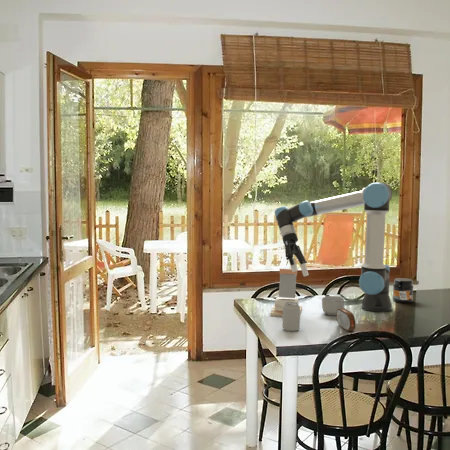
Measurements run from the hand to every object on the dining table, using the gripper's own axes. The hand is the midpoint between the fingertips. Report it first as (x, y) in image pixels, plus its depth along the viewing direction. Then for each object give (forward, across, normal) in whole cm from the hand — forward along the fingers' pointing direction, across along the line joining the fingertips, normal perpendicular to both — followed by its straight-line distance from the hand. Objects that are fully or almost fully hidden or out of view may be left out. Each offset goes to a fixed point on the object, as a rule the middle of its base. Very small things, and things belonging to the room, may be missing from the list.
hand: (300, 273), depth 275 cm
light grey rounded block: (+21, -12, +5) cm, 25 cm away
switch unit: (+15, -1, -14) cm, 20 cm away
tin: (+35, +10, +16) cm, 40 cm away
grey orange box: (+10, +1, -11) cm, 15 cm away
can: (+30, +25, -3) cm, 40 cm away
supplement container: (+18, -57, +31) cm, 68 cm away
